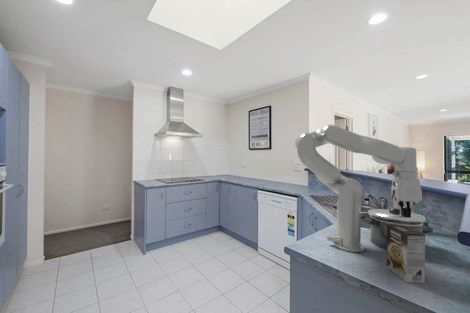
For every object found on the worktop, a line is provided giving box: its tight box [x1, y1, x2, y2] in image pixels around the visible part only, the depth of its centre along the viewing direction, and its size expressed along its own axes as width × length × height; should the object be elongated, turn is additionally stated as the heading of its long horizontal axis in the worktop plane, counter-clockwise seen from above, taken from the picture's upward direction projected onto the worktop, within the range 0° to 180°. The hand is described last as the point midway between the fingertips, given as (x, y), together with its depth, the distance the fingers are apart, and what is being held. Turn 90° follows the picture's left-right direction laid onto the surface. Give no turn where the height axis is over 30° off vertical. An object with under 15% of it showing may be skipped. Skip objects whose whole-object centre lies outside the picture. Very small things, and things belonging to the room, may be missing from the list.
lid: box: [367, 207, 426, 223], centre depth 94 cm, size 22×21×4 cm
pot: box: [363, 215, 429, 251], centre depth 94 cm, size 26×20×13 cm
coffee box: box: [386, 225, 426, 284], centre depth 70 cm, size 9×6×16 cm
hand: (406, 216), depth 88 cm, fingers closed
